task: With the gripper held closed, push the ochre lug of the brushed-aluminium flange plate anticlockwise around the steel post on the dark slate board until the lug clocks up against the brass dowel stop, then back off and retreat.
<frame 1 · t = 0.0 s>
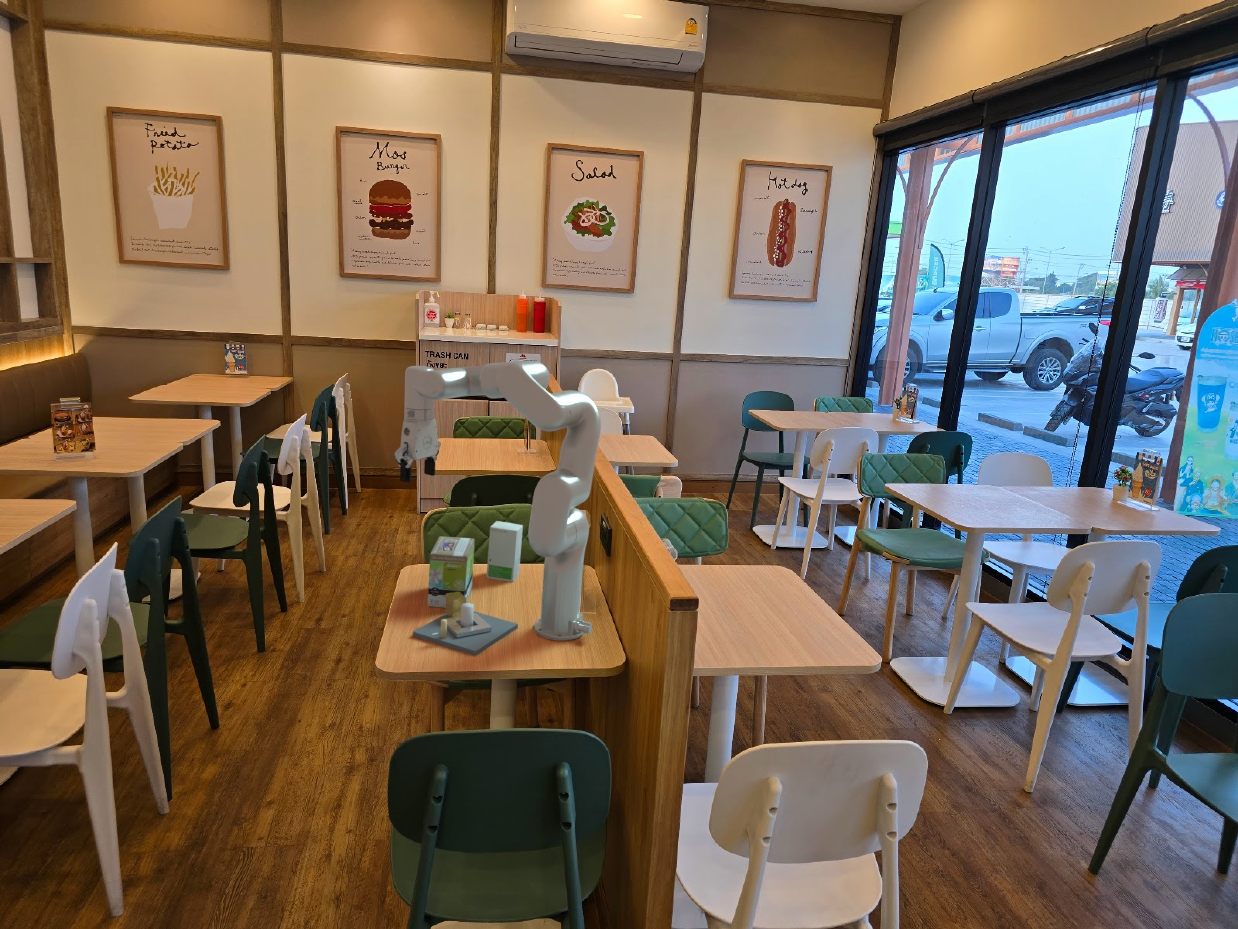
hand: (417, 478, 215), 31 cm above the table, fingers open, 9 cm apart
skincare box: (503, 577, 236), on the table
post board: (466, 632, 199), on the table
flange: (463, 612, 200), point 4 cm above the table, hinge at -30.0°
tea box: (450, 597, 219), on the table
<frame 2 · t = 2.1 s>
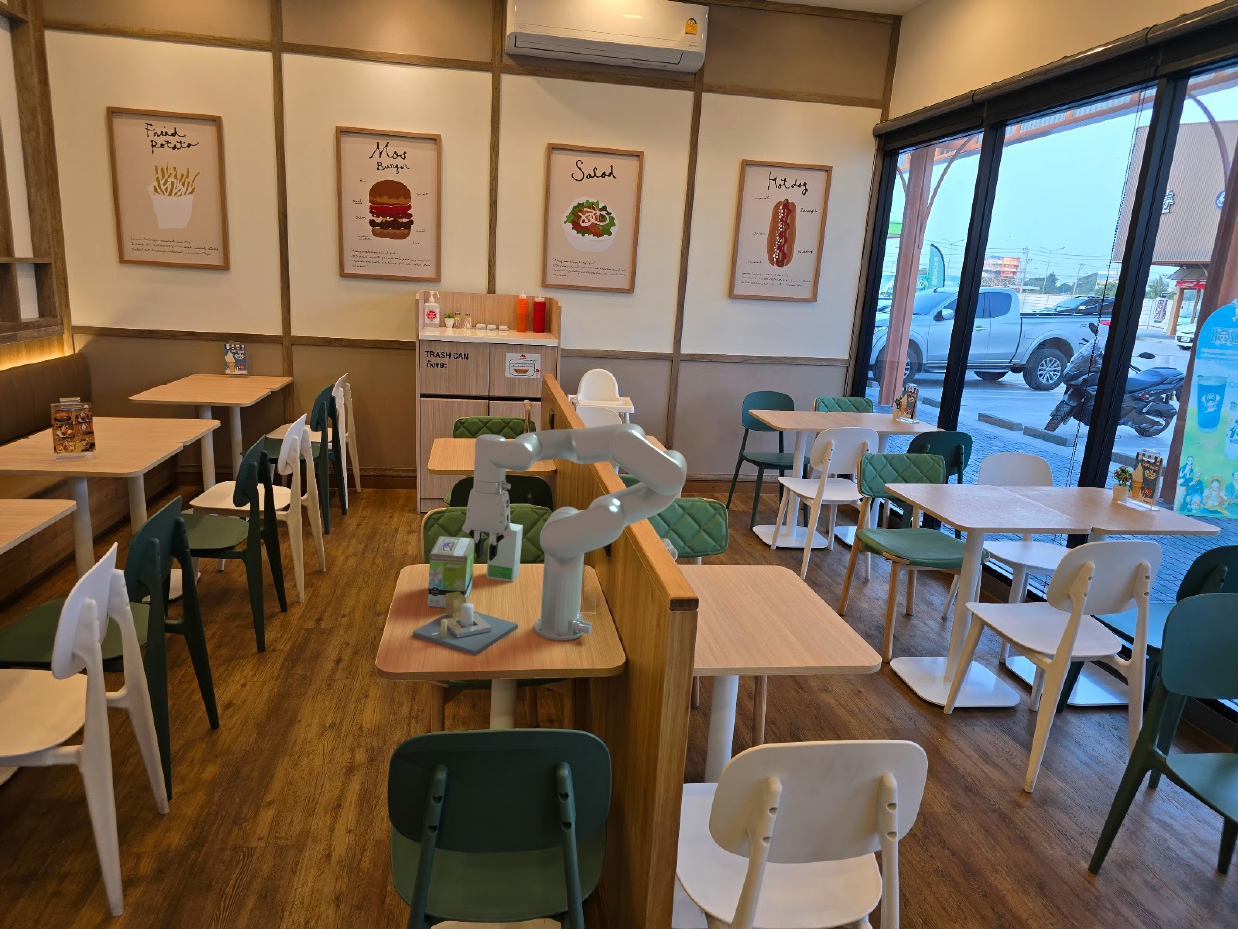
hand: (486, 557, 202), 17 cm above the table, fingers closed
nothing on the table moved.
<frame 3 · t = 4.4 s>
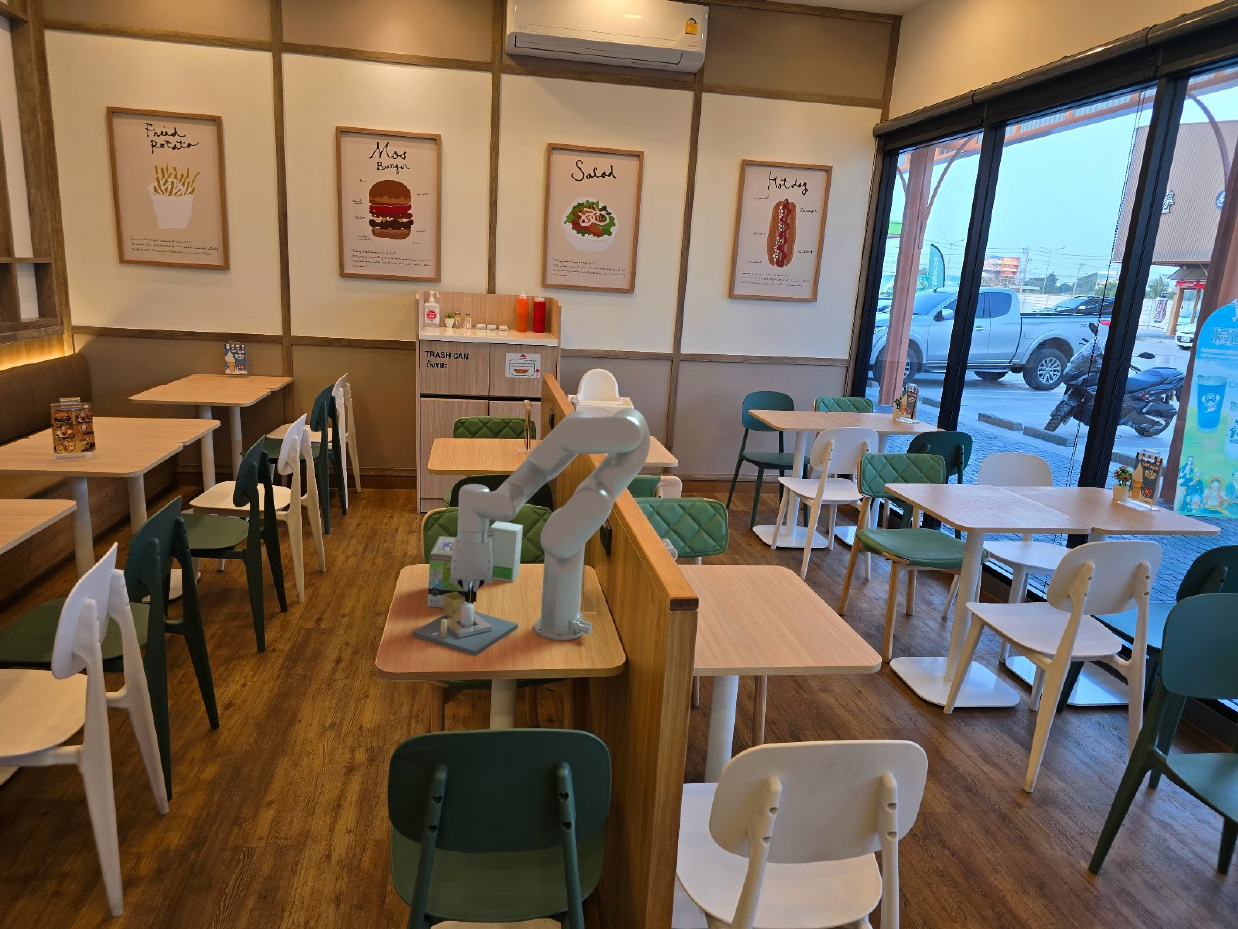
hand: (470, 604, 205), 4 cm above the table, fingers closed
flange: (462, 613, 200), point 4 cm above the table, hinge at -25.7°, touching gripper
everything else where it was.
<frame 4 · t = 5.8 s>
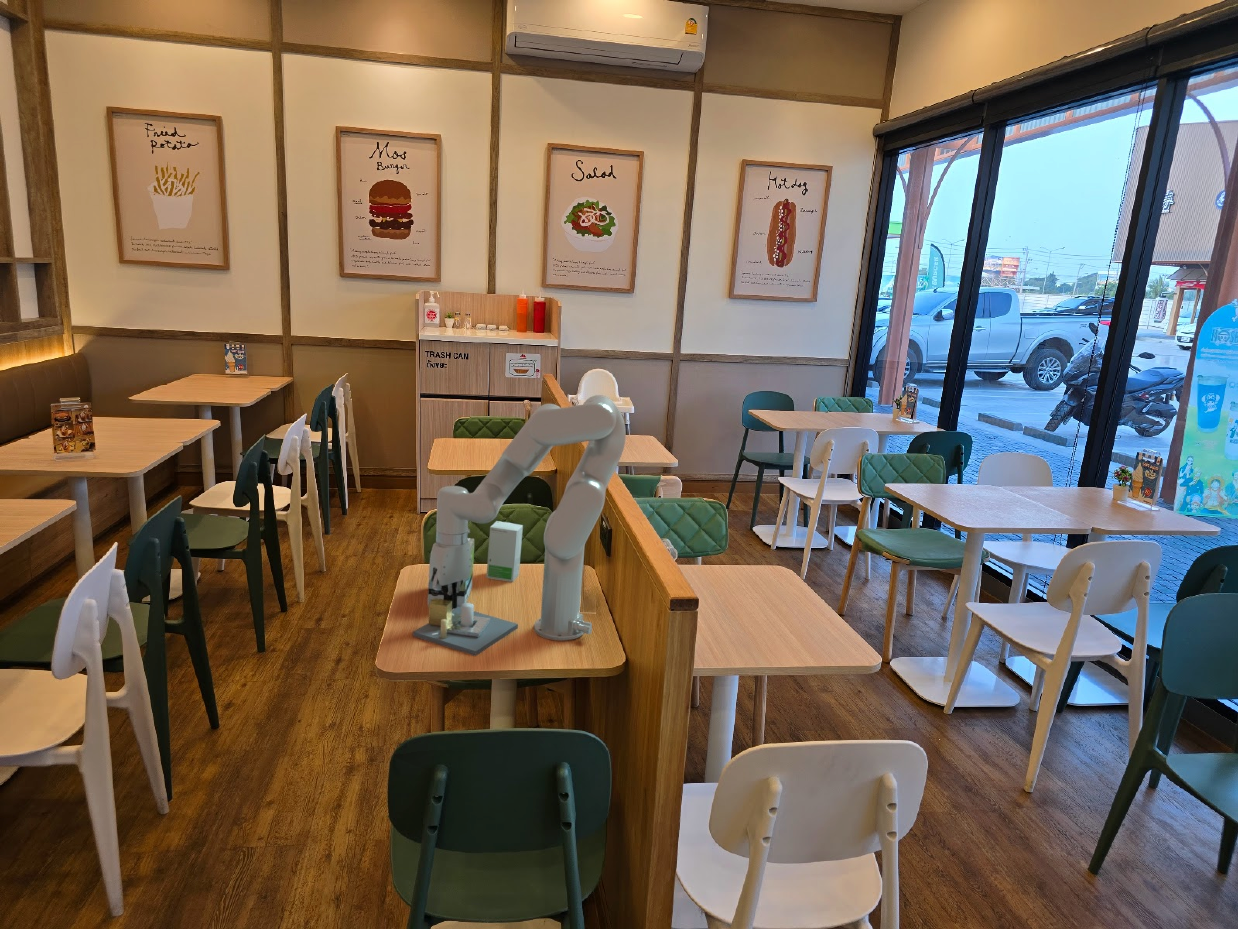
hand: (450, 607, 203), 4 cm above the table, fingers closed
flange: (458, 615, 198), point 4 cm above the table, hinge at 17.1°, touching gripper
everything else where it was.
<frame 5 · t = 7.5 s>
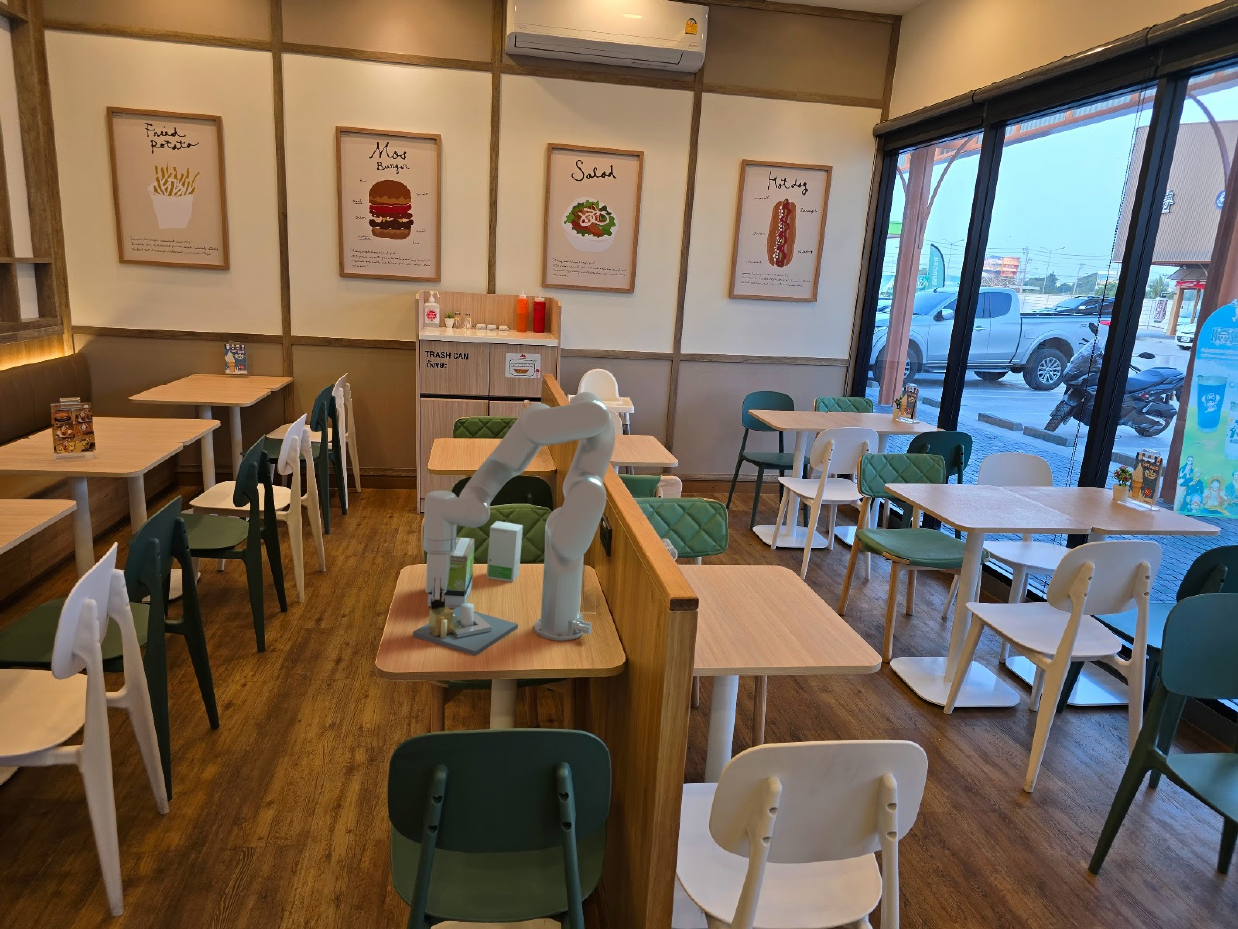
hand: (437, 614, 198), 4 cm above the table, fingers closed
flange: (458, 618, 197), point 4 cm above the table, hinge at 61.0°, touching gripper, post board
everything else where it was.
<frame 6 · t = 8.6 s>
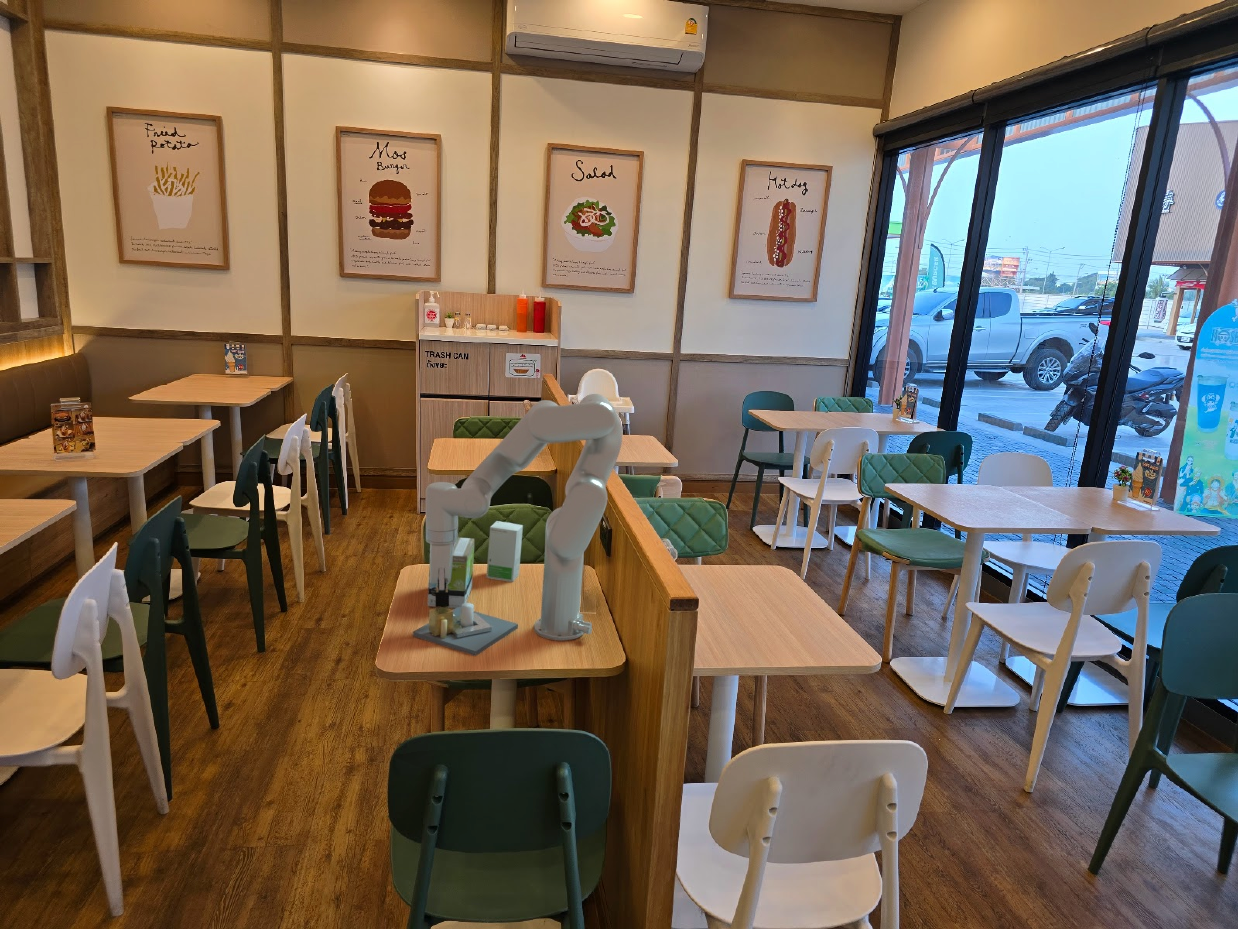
hand: (442, 605, 199), 6 cm above the table, fingers closed
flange: (458, 618, 197), point 4 cm above the table, hinge at 61.0°, touching post board
everything else where it was.
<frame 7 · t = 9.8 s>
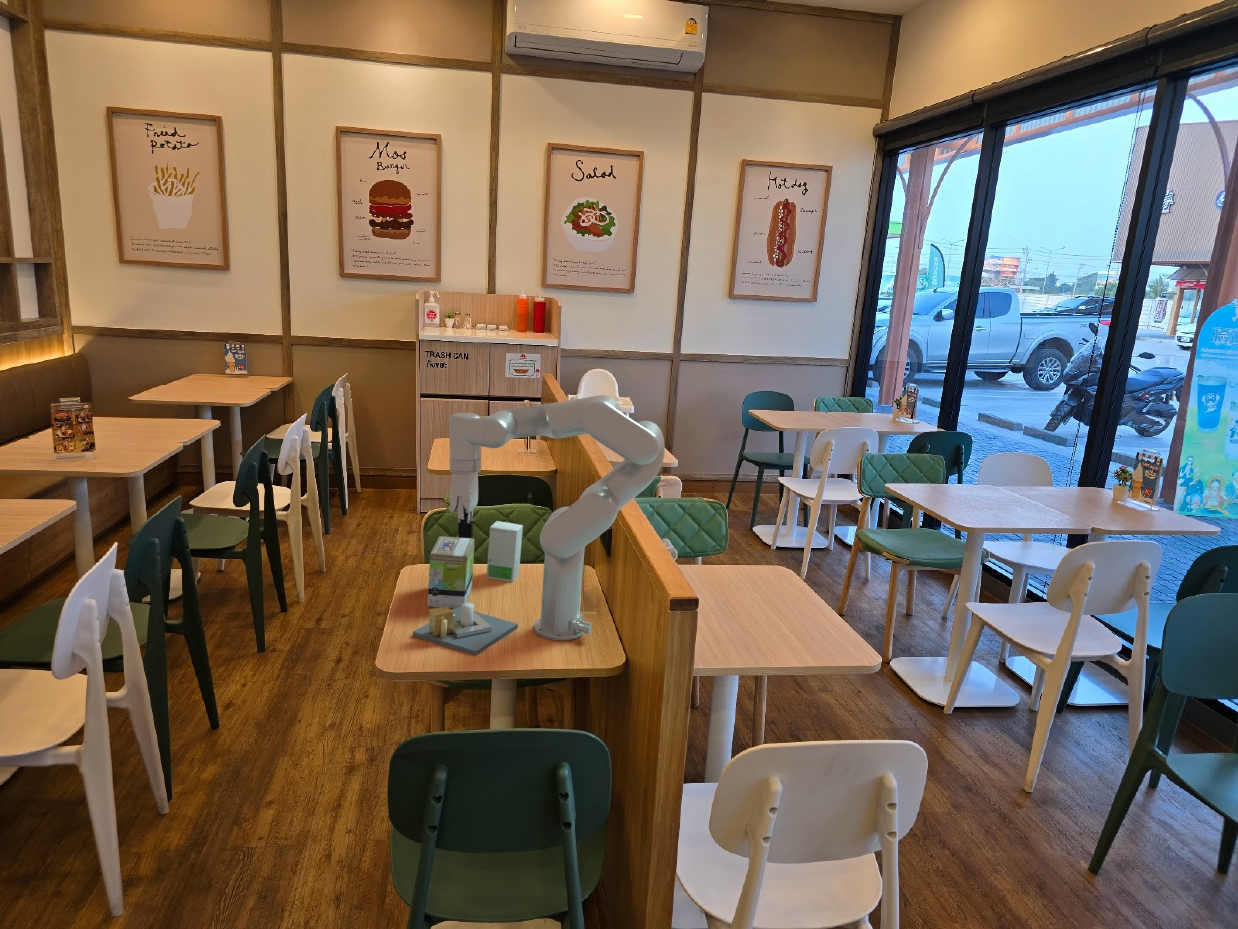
hand: (465, 537, 201), 22 cm above the table, fingers closed
nothing on the table moved.
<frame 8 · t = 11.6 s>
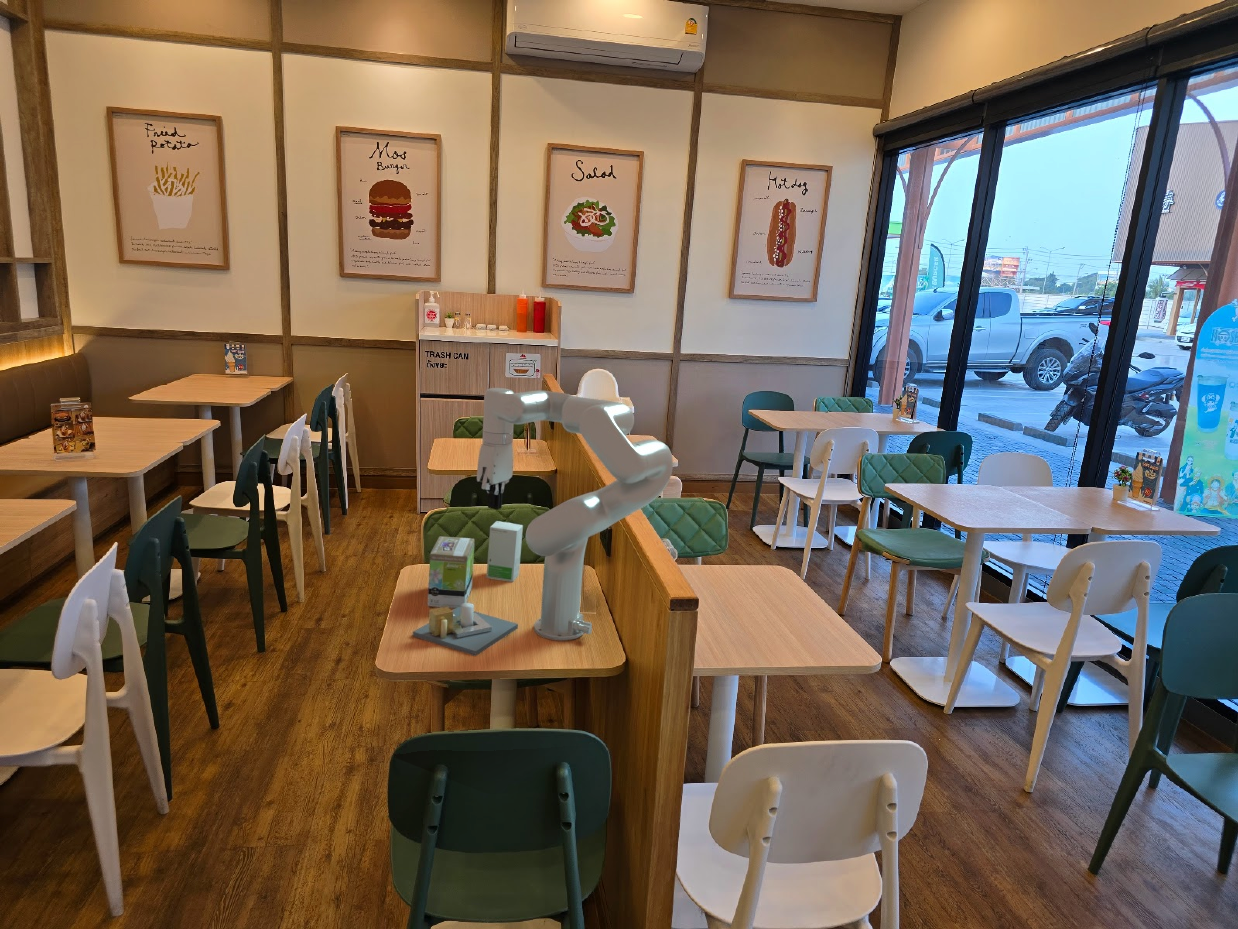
hand: (494, 508, 209), 27 cm above the table, fingers closed
nothing on the table moved.
at the end: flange at +61° (first picture: -30°) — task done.
